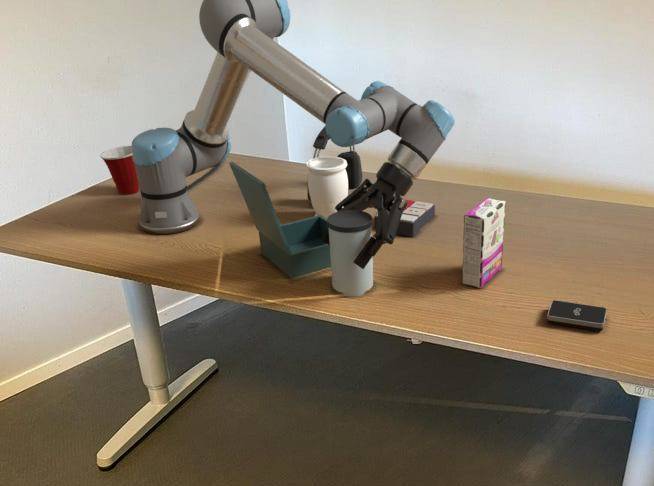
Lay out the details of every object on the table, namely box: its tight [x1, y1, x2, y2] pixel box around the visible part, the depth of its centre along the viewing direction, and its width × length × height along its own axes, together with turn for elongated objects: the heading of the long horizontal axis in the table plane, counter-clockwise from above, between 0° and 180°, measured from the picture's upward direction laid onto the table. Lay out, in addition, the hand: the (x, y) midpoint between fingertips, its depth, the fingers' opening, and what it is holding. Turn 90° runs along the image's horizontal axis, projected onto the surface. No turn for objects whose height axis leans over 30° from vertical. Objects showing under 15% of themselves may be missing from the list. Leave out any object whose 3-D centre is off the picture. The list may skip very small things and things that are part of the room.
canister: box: [327, 210, 374, 298], centre depth 154 cm, size 9×9×16 cm
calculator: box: [373, 198, 436, 237], centre depth 187 cm, size 11×4×15 cm
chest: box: [258, 215, 331, 279], centre depth 169 cm, size 17×17×6 cm
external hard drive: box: [546, 299, 608, 332], centre depth 145 cm, size 7×11×2 cm, turn 70°
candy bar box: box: [461, 197, 507, 289], centre depth 157 cm, size 11×5×16 cm, turn 148°
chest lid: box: [228, 161, 291, 254], centre depth 158 cm, size 17×17×1 cm
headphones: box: [306, 126, 363, 204], centre depth 201 cm, size 22×6×20 cm, turn 152°
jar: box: [306, 156, 349, 219], centre depth 188 cm, size 11×10×15 cm
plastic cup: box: [99, 145, 140, 195], centre depth 208 cm, size 11×11×12 cm
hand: (341, 254), depth 153 cm, fingers open, 13 cm apart
